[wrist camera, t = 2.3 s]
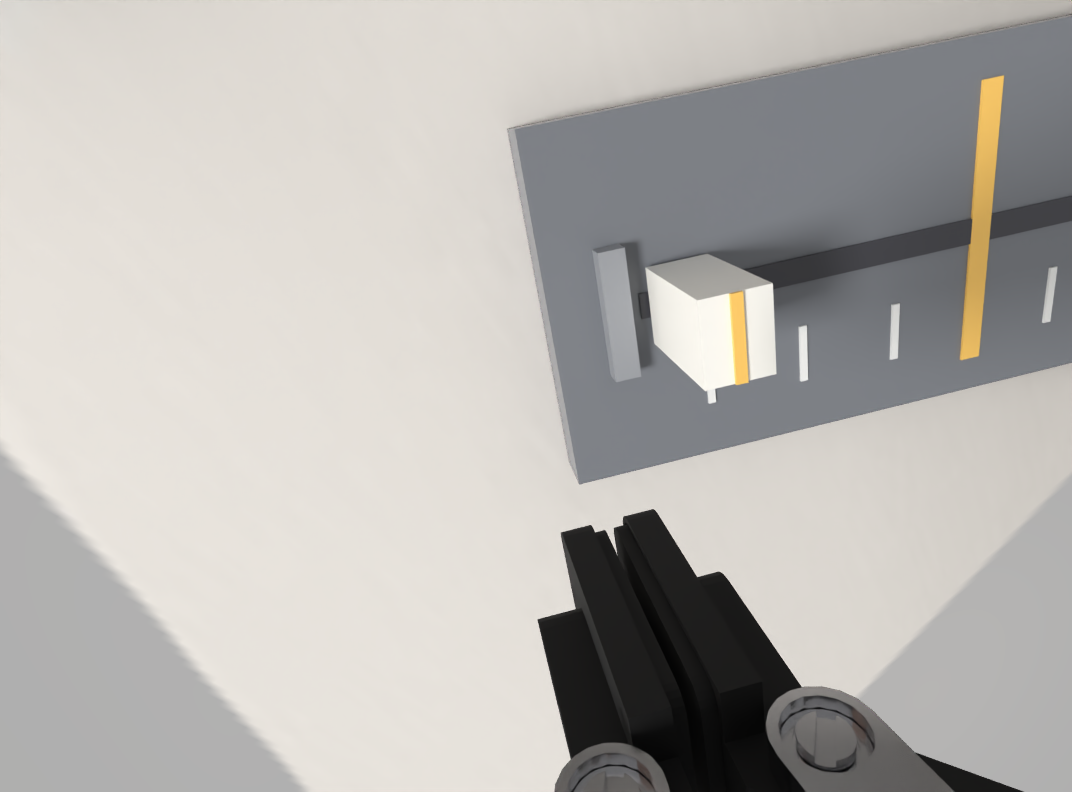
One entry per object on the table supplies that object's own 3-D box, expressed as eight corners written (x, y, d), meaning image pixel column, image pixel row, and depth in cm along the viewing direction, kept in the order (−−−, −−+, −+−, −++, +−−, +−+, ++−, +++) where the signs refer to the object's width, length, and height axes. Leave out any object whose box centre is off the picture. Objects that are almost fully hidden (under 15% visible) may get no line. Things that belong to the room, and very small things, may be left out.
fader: (645, 267, 25) (698, 301, 20) (707, 253, 25) (774, 284, 20) (654, 343, 26) (706, 392, 21) (713, 329, 26) (778, 375, 21)
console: (507, 128, 24) (517, 129, 22) (1245, -21, 27) (1333, -37, 24) (569, 462, 30) (583, 494, 27) (1174, 314, 32) (1240, 330, 30)
